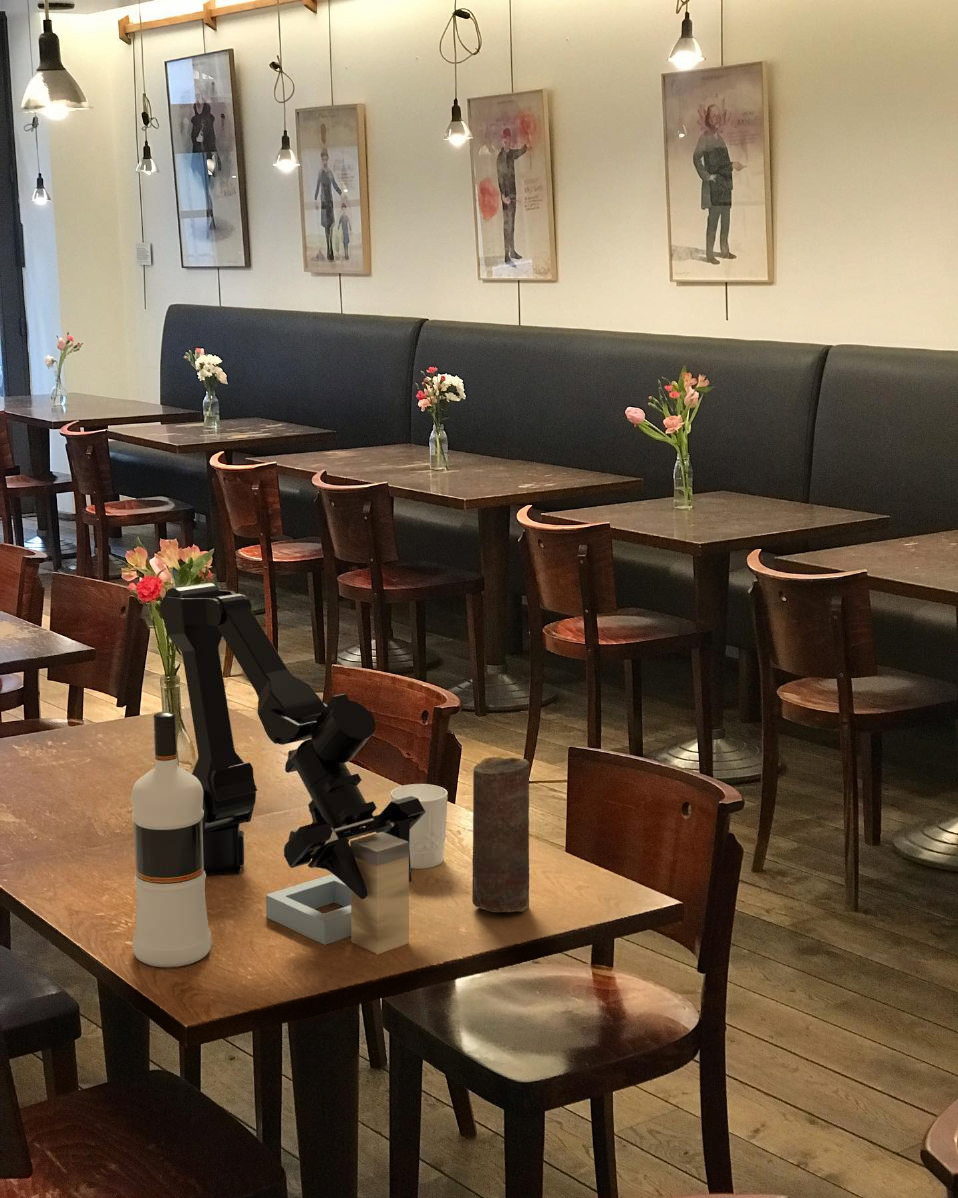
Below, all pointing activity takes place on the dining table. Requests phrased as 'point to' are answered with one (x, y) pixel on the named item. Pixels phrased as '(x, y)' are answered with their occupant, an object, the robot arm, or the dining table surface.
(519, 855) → the brown textured cylinder
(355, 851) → the wooden square peg
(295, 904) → the frame
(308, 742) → the robot arm
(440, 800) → the white cup
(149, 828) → the vodka
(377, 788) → the dining table surface
